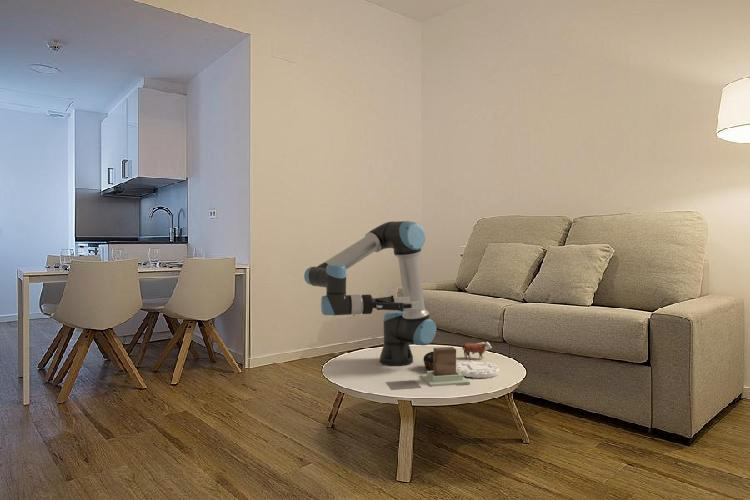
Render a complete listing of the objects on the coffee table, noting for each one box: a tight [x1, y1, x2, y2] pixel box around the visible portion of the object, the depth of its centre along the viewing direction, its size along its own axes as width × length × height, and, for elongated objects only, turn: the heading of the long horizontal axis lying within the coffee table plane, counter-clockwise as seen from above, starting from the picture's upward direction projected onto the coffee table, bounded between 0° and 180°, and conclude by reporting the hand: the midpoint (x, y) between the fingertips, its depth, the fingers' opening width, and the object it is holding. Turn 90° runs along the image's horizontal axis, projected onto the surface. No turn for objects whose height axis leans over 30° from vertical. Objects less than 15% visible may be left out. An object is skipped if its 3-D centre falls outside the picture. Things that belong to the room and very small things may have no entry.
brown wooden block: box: [432, 346, 457, 376], centre depth 209 cm, size 4×8×12 cm, turn 102°
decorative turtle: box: [423, 351, 433, 371], centre depth 225 cm, size 10×15×8 cm, turn 23°
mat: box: [385, 379, 422, 391], centre depth 203 cm, size 10×12×1 cm
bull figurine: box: [462, 341, 493, 360], centre depth 243 cm, size 4×13×8 cm, turn 81°
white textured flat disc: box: [456, 359, 500, 379], centre depth 221 cm, size 20×20×3 cm
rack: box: [420, 370, 471, 387], centre depth 209 cm, size 14×16×3 cm
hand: (414, 302), depth 205 cm, fingers open, 13 cm apart
